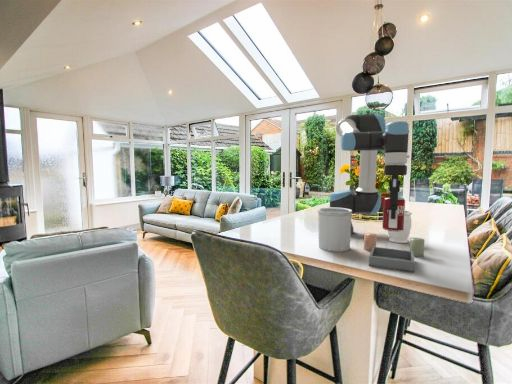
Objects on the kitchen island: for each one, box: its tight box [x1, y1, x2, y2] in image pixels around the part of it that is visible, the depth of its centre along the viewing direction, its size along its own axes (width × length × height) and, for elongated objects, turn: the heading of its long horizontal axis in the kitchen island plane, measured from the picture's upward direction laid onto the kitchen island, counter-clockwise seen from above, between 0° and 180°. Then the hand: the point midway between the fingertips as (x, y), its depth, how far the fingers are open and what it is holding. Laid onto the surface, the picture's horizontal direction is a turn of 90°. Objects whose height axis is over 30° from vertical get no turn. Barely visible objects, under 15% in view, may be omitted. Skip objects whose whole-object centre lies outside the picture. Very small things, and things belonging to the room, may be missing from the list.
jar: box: [387, 210, 413, 244], centre depth 137 cm, size 11×10×15 cm
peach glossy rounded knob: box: [363, 232, 378, 252], centre depth 123 cm, size 5×5×7 cm
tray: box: [368, 246, 415, 274], centre depth 105 cm, size 15×15×4 cm
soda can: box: [382, 196, 406, 232], centre depth 104 cm, size 7×7×12 cm
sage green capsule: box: [409, 237, 426, 258], centre depth 114 cm, size 5×5×7 cm
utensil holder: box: [317, 206, 352, 253], centre depth 126 cm, size 15×15×18 cm
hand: (393, 225), depth 104 cm, fingers closed on soda can, 7 cm apart
